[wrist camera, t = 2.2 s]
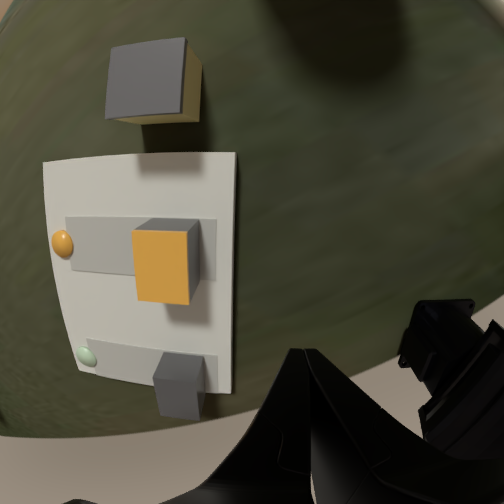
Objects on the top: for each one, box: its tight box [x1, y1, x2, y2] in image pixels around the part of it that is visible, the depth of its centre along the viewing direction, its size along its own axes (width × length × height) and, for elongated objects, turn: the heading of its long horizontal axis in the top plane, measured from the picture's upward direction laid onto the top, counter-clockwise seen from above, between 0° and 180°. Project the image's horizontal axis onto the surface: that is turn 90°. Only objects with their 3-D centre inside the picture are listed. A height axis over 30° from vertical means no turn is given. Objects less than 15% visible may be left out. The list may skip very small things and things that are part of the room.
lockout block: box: [105, 37, 202, 125], centre depth 15 cm, size 4×4×5 cm
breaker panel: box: [43, 152, 237, 394], centre depth 21 cm, size 14×18×2 cm
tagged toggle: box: [131, 218, 200, 305], centre depth 17 cm, size 3×4×3 cm
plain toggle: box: [152, 352, 206, 421], centre depth 20 cm, size 3×4×3 cm
